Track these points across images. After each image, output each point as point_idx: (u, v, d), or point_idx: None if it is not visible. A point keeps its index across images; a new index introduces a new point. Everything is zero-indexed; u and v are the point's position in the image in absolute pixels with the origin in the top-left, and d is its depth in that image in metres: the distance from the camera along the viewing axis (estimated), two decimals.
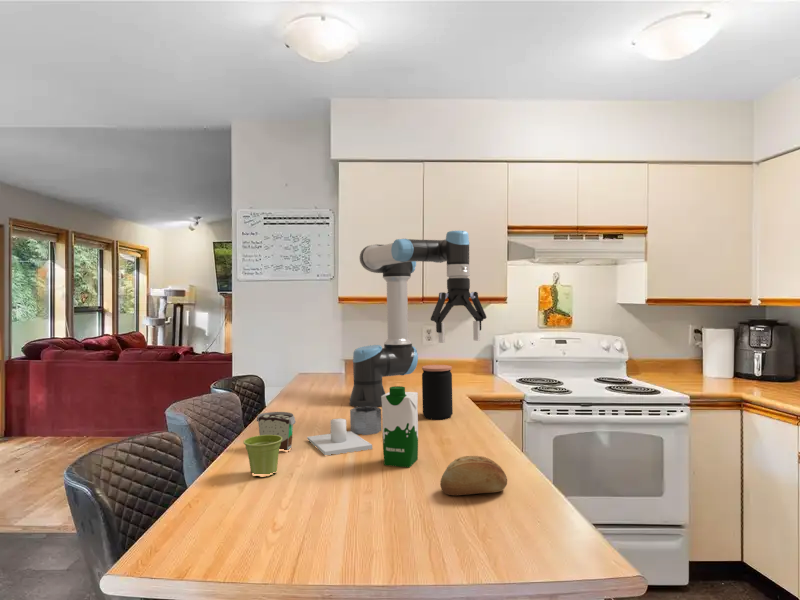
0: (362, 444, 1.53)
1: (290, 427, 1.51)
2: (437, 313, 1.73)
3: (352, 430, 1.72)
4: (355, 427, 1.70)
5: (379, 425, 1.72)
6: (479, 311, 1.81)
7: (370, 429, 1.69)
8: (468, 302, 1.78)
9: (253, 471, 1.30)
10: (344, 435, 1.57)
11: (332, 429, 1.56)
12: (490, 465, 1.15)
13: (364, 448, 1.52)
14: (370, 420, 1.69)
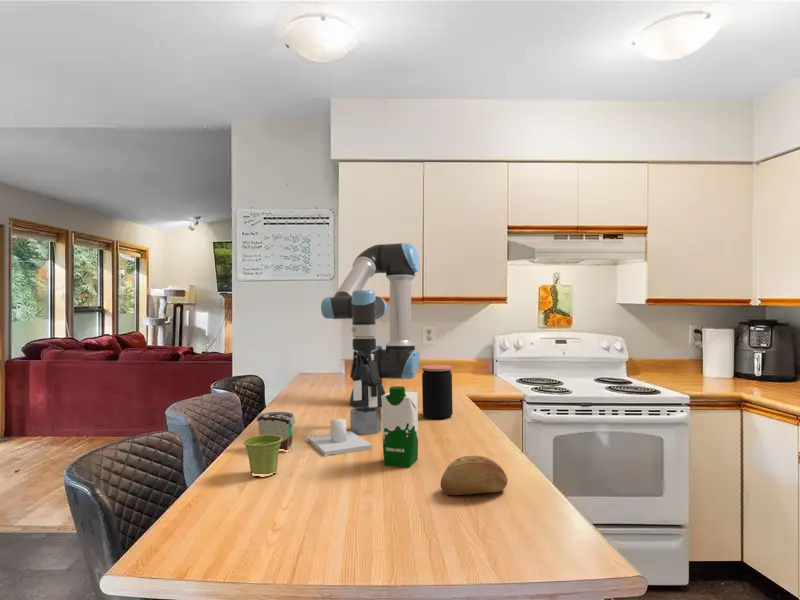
0: (362, 444, 1.53)
1: (290, 427, 1.51)
2: (351, 370, 1.81)
3: (352, 430, 1.72)
4: (355, 427, 1.70)
5: (379, 425, 1.72)
6: None
7: (370, 429, 1.69)
8: (362, 364, 1.70)
9: (253, 471, 1.30)
10: (344, 435, 1.57)
11: (332, 429, 1.56)
12: (490, 465, 1.15)
13: (364, 448, 1.52)
14: (370, 420, 1.69)
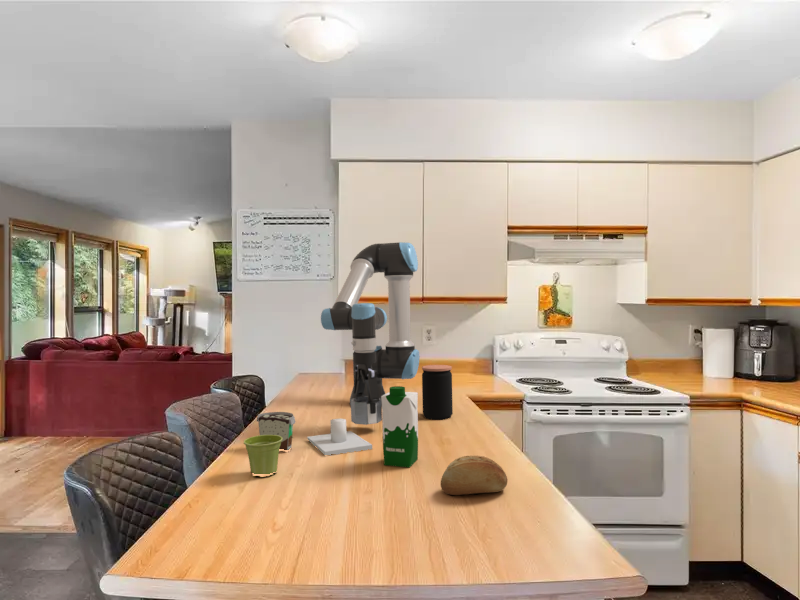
0: (362, 444, 1.53)
1: (290, 427, 1.51)
2: (354, 386, 1.80)
3: (353, 420, 1.72)
4: (356, 417, 1.70)
5: (380, 415, 1.73)
6: None
7: None
8: (363, 379, 1.71)
9: (253, 471, 1.30)
10: (344, 435, 1.57)
11: (332, 429, 1.56)
12: (490, 465, 1.15)
13: (364, 448, 1.52)
14: None
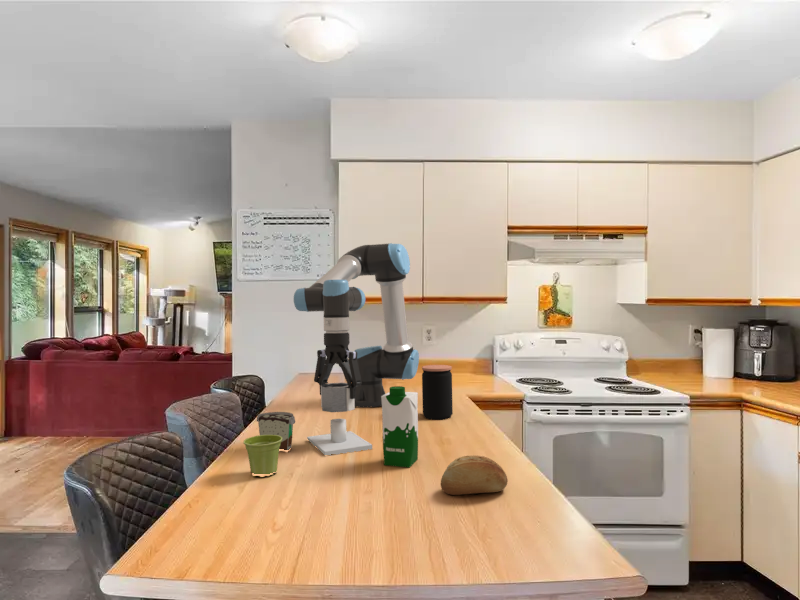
0: (362, 444, 1.53)
1: (290, 427, 1.51)
2: (316, 374, 1.61)
3: (326, 409, 1.54)
4: (333, 404, 1.53)
5: None
6: None
7: None
8: (339, 362, 1.55)
9: (253, 471, 1.30)
10: (344, 435, 1.57)
11: (332, 429, 1.56)
12: (490, 465, 1.15)
13: (364, 448, 1.52)
14: None
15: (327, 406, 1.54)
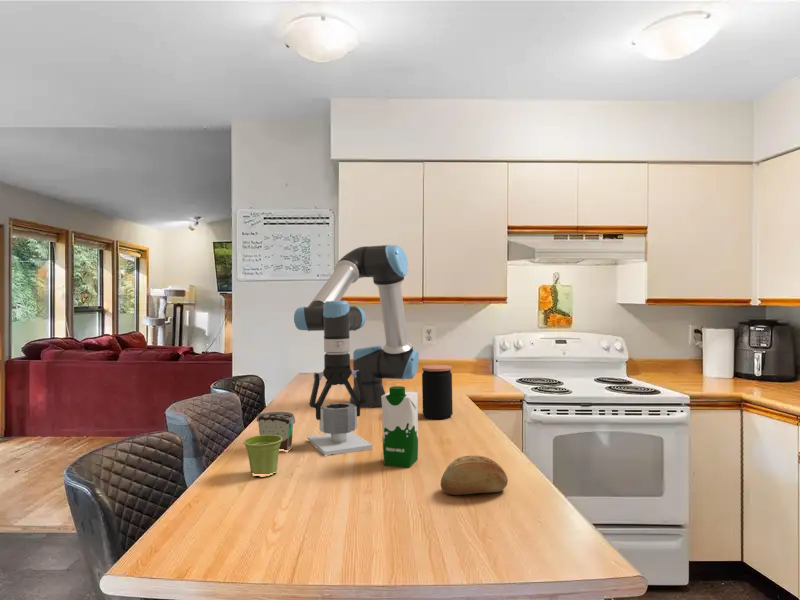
0: (362, 444, 1.53)
1: (290, 427, 1.51)
2: (313, 398, 1.54)
3: (341, 430, 1.54)
4: (348, 425, 1.54)
5: None
6: (359, 393, 1.59)
7: None
8: (346, 382, 1.57)
9: (253, 471, 1.30)
10: (344, 435, 1.57)
11: None
12: (490, 465, 1.15)
13: (364, 448, 1.52)
14: None
15: (341, 428, 1.54)
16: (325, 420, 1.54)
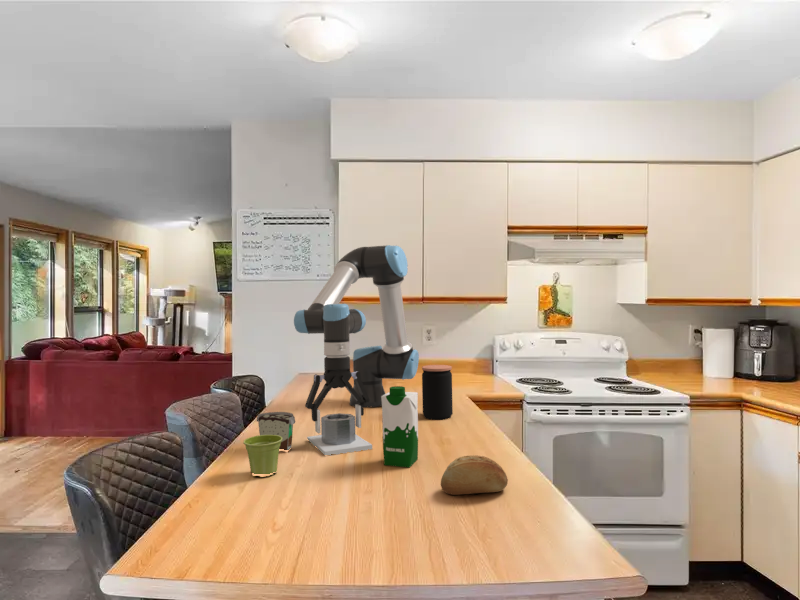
0: (362, 444, 1.53)
1: (290, 427, 1.51)
2: (311, 400, 1.53)
3: (343, 441, 1.54)
4: (350, 435, 1.55)
5: None
6: (362, 393, 1.61)
7: None
8: (348, 384, 1.58)
9: (253, 471, 1.30)
10: None
11: None
12: (490, 465, 1.15)
13: (364, 448, 1.52)
14: None
15: (344, 439, 1.54)
16: (327, 431, 1.54)
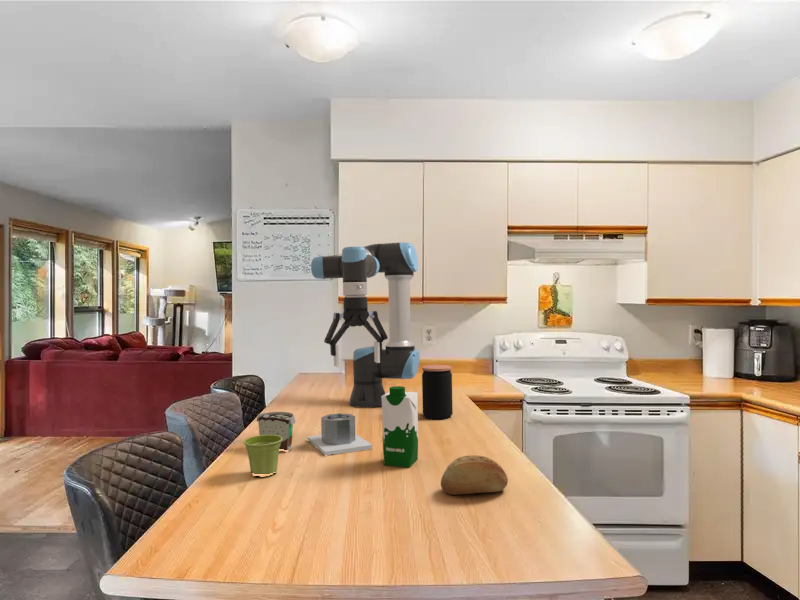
0: (362, 444, 1.53)
1: (290, 427, 1.51)
2: (330, 335, 1.62)
3: (343, 441, 1.54)
4: (350, 435, 1.55)
5: None
6: (380, 331, 1.70)
7: None
8: (366, 322, 1.67)
9: (253, 471, 1.30)
10: None
11: None
12: (490, 465, 1.15)
13: (364, 448, 1.52)
14: None
15: (344, 439, 1.54)
16: (327, 431, 1.54)
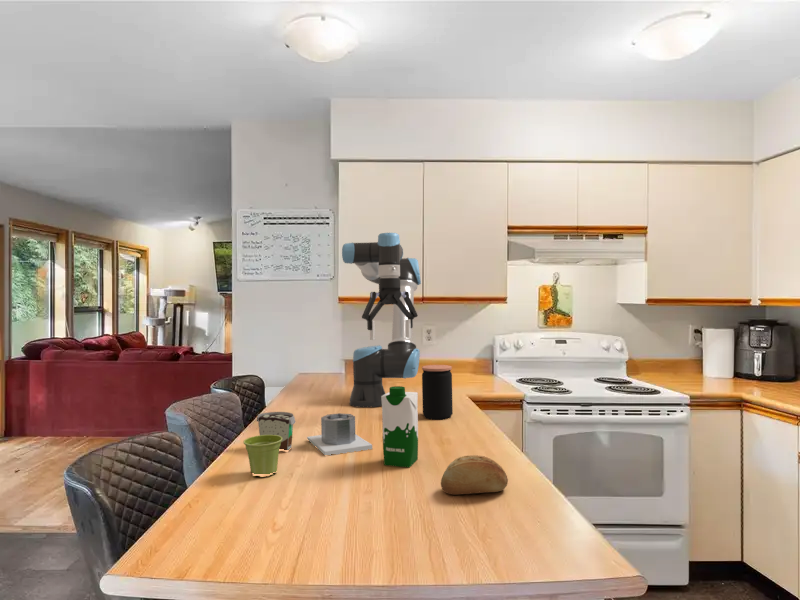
0: (362, 444, 1.53)
1: (290, 427, 1.51)
2: (367, 311, 1.81)
3: (343, 441, 1.54)
4: (350, 435, 1.55)
5: None
6: (410, 310, 1.89)
7: None
8: (399, 301, 1.86)
9: (253, 471, 1.30)
10: None
11: None
12: (490, 465, 1.15)
13: (364, 448, 1.52)
14: None
15: (344, 439, 1.54)
16: (327, 431, 1.54)
